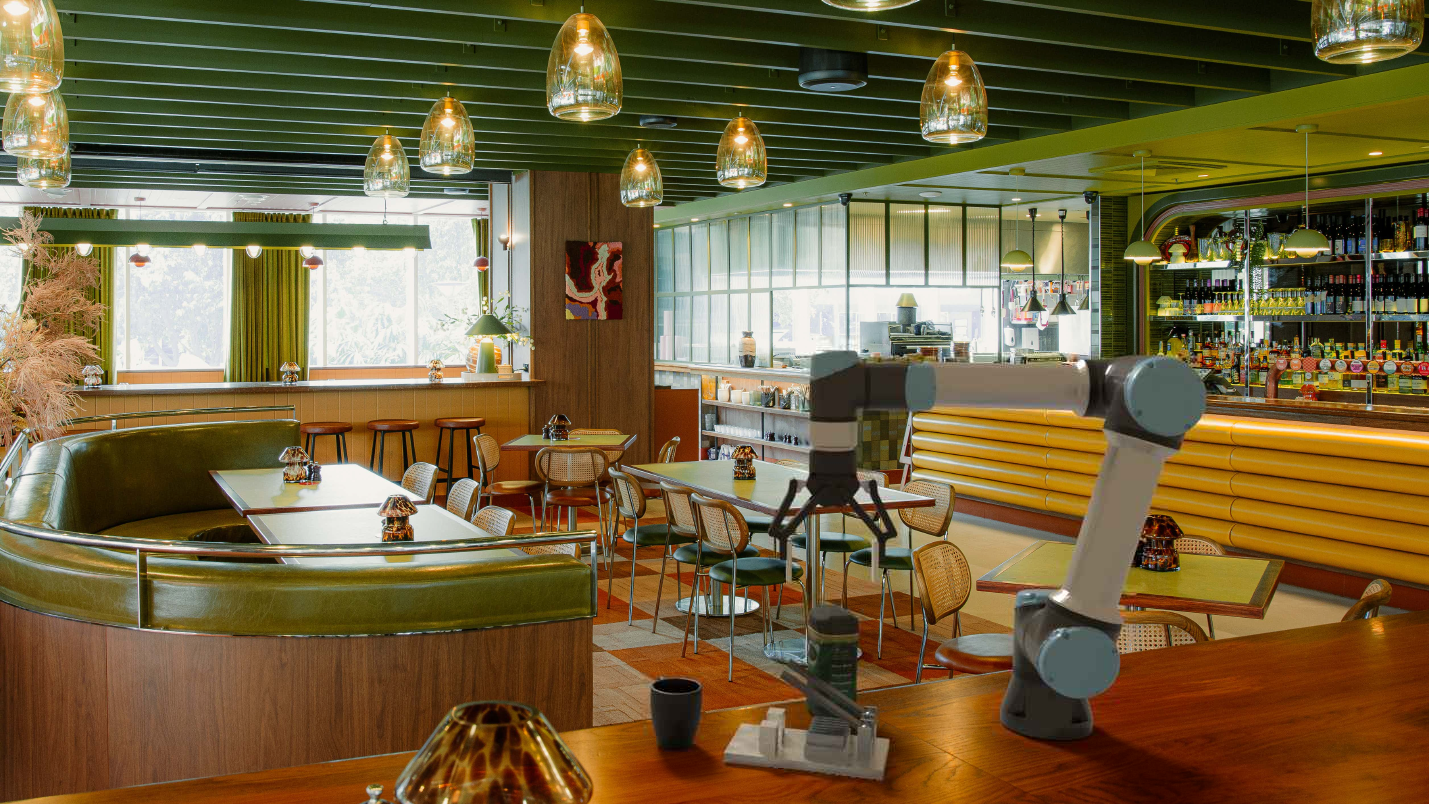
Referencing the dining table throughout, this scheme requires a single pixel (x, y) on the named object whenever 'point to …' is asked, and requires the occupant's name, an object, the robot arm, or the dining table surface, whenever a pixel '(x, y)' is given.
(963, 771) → the dining table surface
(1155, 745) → the dining table surface
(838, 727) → the board
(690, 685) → the mug
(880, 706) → the dining table surface
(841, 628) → the coffee jar
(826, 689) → the inner strap
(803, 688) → the outer strap
